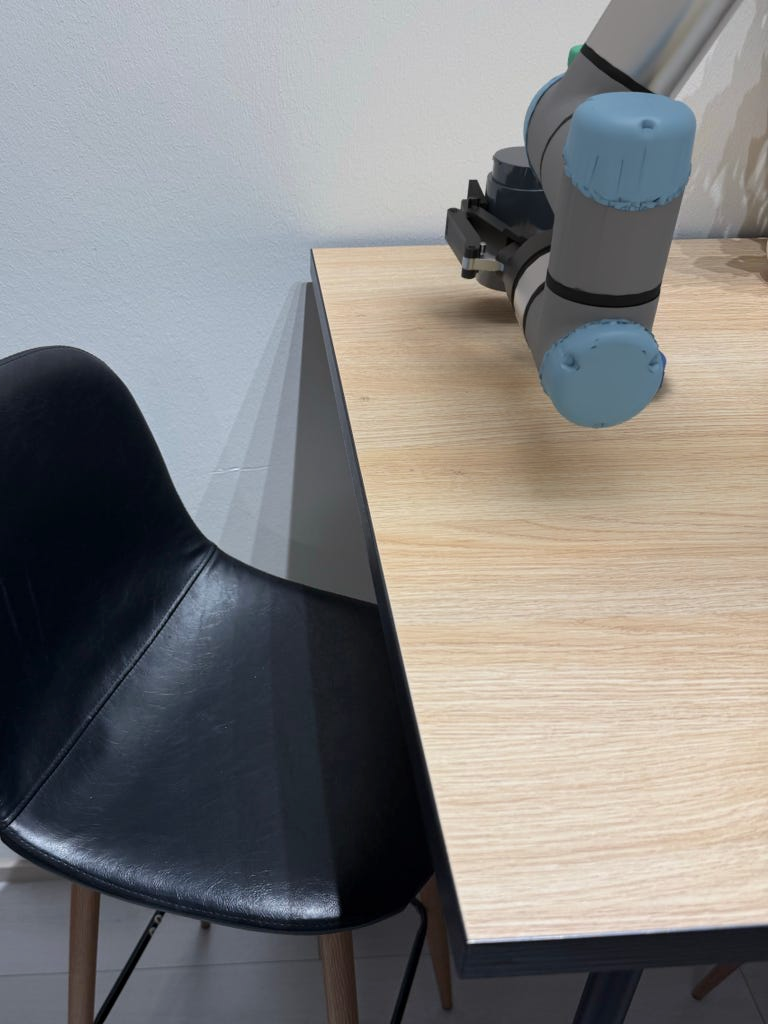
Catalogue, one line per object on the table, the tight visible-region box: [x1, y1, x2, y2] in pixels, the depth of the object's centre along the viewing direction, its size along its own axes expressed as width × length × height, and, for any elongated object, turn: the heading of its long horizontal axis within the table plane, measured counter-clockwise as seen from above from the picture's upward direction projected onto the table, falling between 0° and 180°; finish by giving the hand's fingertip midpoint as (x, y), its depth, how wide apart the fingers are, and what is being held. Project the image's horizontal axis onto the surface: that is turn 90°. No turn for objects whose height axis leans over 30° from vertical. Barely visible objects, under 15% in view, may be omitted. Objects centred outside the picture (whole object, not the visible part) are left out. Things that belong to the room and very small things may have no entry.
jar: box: [474, 145, 555, 293], centre depth 94 cm, size 7×7×11 cm
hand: (511, 194), depth 97 cm, fingers closed on jar, 7 cm apart
